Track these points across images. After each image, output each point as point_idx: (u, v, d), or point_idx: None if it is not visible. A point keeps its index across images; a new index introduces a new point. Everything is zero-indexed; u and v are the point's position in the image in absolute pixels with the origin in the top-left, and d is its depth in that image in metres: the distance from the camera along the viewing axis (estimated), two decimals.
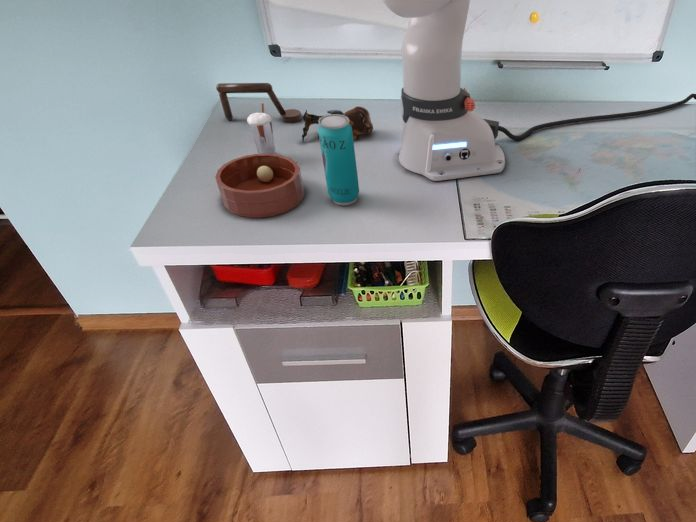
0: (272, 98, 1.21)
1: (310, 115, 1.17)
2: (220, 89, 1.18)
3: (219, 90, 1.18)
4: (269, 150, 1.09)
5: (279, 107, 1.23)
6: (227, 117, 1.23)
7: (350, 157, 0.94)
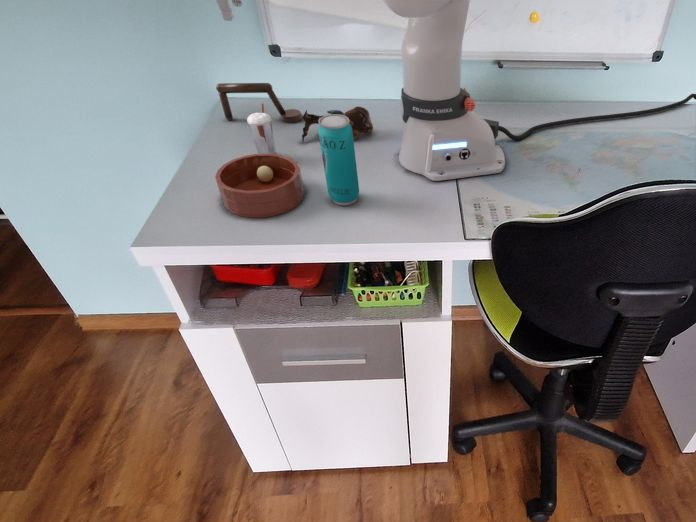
0: (272, 98, 1.21)
1: (310, 115, 1.17)
2: (220, 89, 1.18)
3: (219, 90, 1.18)
4: (269, 150, 1.09)
5: (279, 107, 1.23)
6: (227, 117, 1.23)
7: (350, 157, 0.94)
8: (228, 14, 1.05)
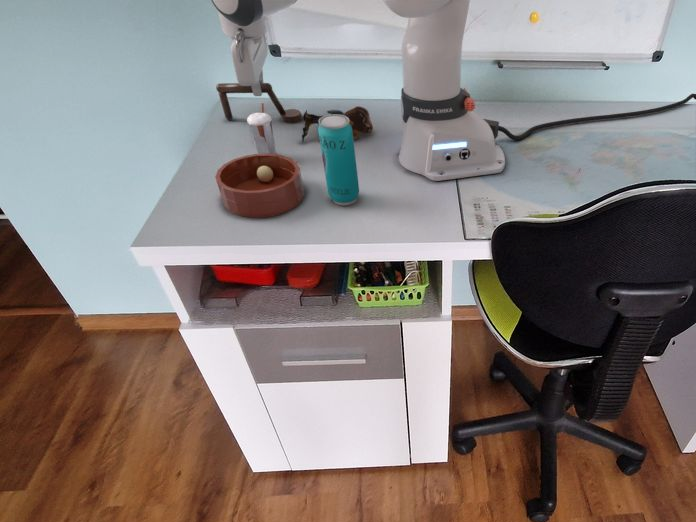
0: (272, 98, 1.21)
1: (310, 115, 1.17)
2: (220, 89, 1.18)
3: (219, 90, 1.18)
4: (269, 150, 1.09)
5: (279, 107, 1.23)
6: (227, 117, 1.23)
7: (350, 157, 0.94)
8: (258, 91, 1.18)
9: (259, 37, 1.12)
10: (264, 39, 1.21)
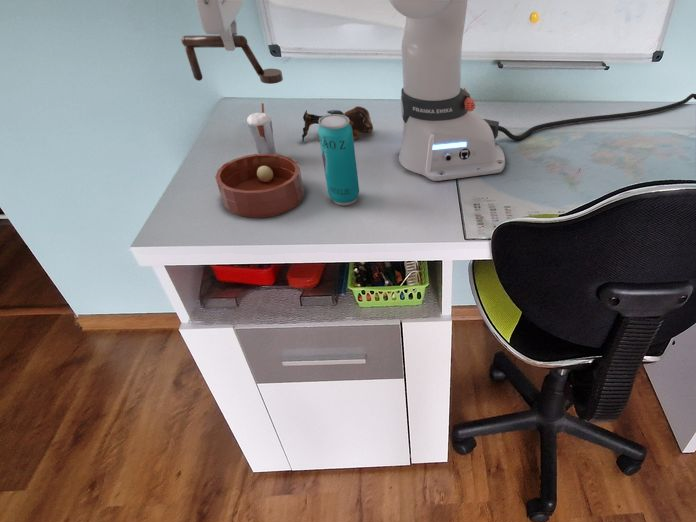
0: (247, 54, 1.04)
1: (310, 115, 1.17)
2: (186, 42, 1.01)
3: (185, 43, 1.01)
4: (269, 150, 1.09)
5: (256, 65, 1.06)
6: (196, 77, 1.06)
7: (350, 157, 0.94)
8: (230, 44, 1.01)
9: None
10: None
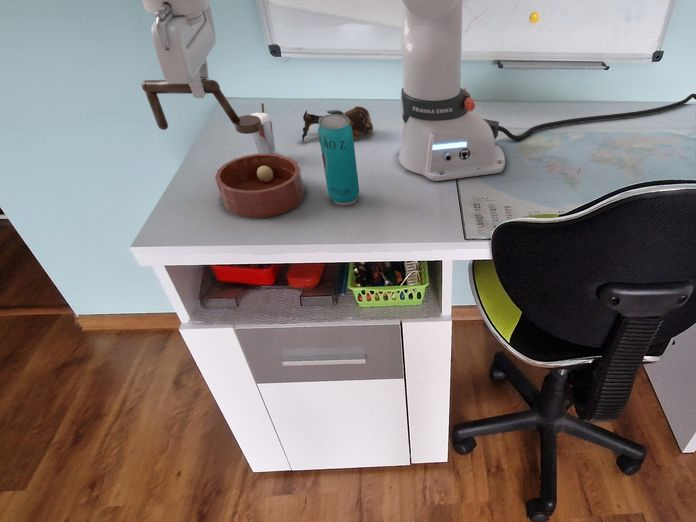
0: (220, 101, 0.89)
1: (310, 115, 1.17)
2: (147, 88, 0.86)
3: (146, 89, 0.87)
4: (269, 150, 1.09)
5: (230, 113, 0.91)
6: (160, 126, 0.91)
7: (350, 157, 0.94)
8: (199, 91, 0.86)
9: (196, 16, 0.80)
10: (210, 21, 0.89)
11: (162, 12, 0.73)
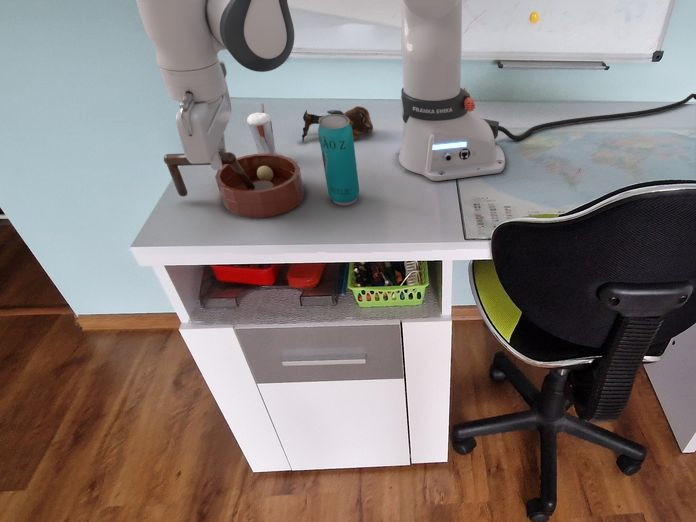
0: (236, 170, 0.96)
1: (310, 115, 1.17)
2: (169, 161, 0.93)
3: (167, 163, 0.93)
4: (269, 150, 1.09)
5: (246, 180, 0.97)
6: (180, 193, 0.97)
7: (350, 157, 0.94)
8: (217, 163, 0.93)
9: (216, 99, 0.86)
10: (226, 96, 0.95)
11: (186, 103, 0.80)
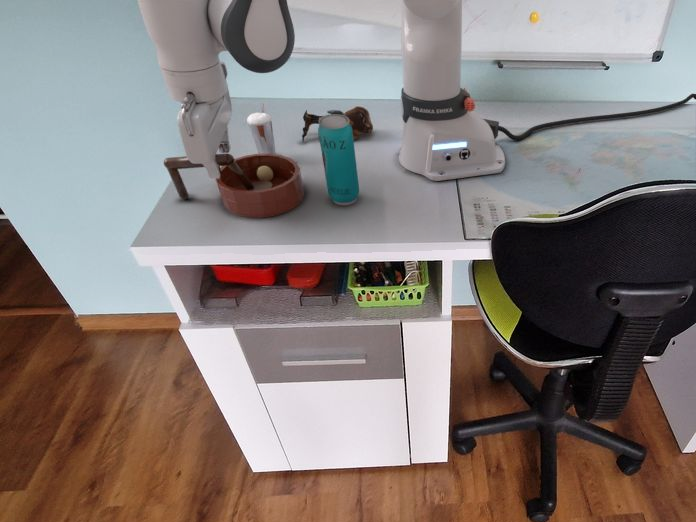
0: (235, 171, 0.97)
1: (310, 115, 1.17)
2: (168, 165, 0.94)
3: (167, 166, 0.94)
4: (269, 150, 1.09)
5: (245, 181, 0.98)
6: (181, 196, 0.99)
7: (350, 157, 0.94)
8: (215, 172, 0.91)
9: (217, 100, 0.87)
10: (227, 97, 0.96)
11: (187, 103, 0.80)
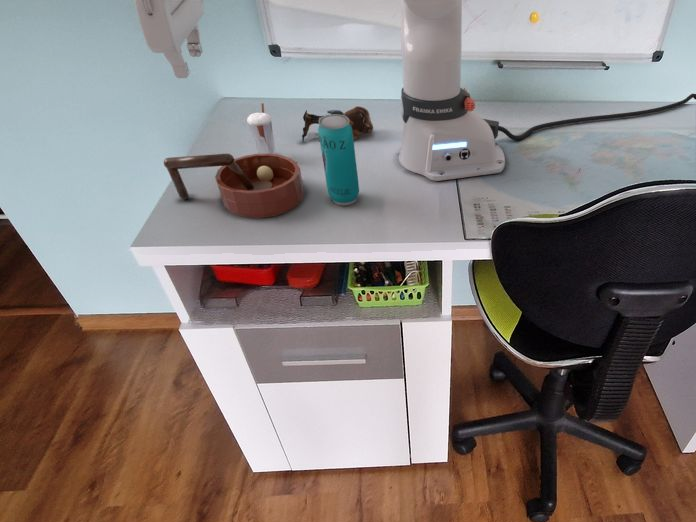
0: (235, 171, 0.97)
1: (310, 115, 1.17)
2: (168, 165, 0.94)
3: (167, 166, 0.94)
4: (269, 150, 1.09)
5: (245, 181, 0.98)
6: (181, 196, 0.99)
7: (350, 157, 0.94)
8: (182, 70, 0.80)
9: None
10: None
11: None
